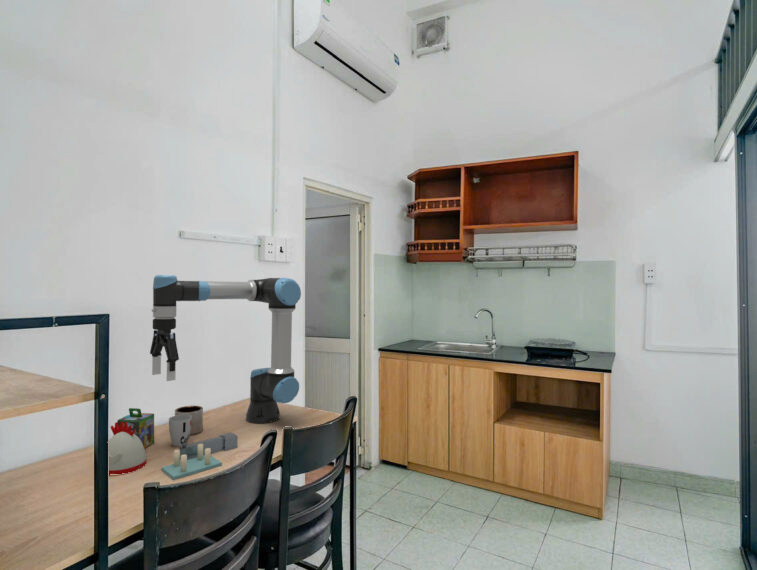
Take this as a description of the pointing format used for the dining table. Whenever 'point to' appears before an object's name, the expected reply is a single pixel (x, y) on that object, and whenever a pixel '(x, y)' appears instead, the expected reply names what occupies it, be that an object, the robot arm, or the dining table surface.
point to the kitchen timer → (125, 450)
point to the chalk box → (140, 425)
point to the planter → (196, 417)
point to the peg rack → (191, 464)
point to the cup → (180, 429)
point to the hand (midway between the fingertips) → (163, 377)
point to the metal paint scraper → (210, 445)
